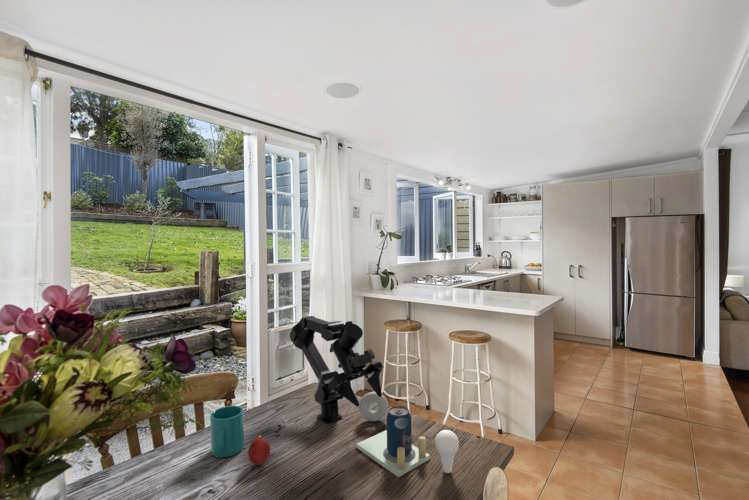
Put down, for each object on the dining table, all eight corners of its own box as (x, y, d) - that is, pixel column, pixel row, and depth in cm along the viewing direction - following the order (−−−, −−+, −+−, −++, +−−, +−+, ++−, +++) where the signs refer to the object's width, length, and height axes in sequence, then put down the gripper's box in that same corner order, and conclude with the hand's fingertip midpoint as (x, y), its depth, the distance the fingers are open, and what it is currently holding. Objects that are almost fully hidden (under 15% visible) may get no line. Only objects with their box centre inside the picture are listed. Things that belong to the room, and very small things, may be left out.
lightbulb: (454, 483, 93) (454, 439, 93) (431, 475, 96) (431, 433, 96) (462, 470, 98) (462, 429, 98) (440, 463, 101) (440, 423, 101)
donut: (359, 424, 123) (358, 394, 123) (359, 419, 127) (358, 390, 126) (389, 423, 124) (388, 393, 124) (388, 418, 127) (387, 389, 127)
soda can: (410, 461, 100) (409, 417, 100) (384, 458, 102) (384, 415, 101) (413, 447, 107) (412, 406, 106) (389, 444, 108) (388, 404, 108)
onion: (250, 473, 98) (249, 443, 98) (247, 462, 103) (246, 433, 103) (272, 467, 101) (271, 438, 101) (268, 456, 106) (267, 428, 106)
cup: (203, 466, 102) (202, 426, 101) (216, 442, 113) (215, 406, 113) (238, 463, 103) (236, 423, 102) (247, 440, 115) (246, 404, 114)
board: (356, 447, 109) (356, 427, 109) (387, 433, 117) (386, 414, 117) (398, 477, 96) (397, 453, 95) (429, 459, 103) (429, 437, 103)
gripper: (333, 348, 108) (358, 397, 100) (379, 336, 121) (404, 378, 113) (318, 368, 114) (340, 416, 106) (363, 354, 127) (386, 396, 119)
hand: (369, 401), depth 111 cm, fingers open, 9 cm apart
